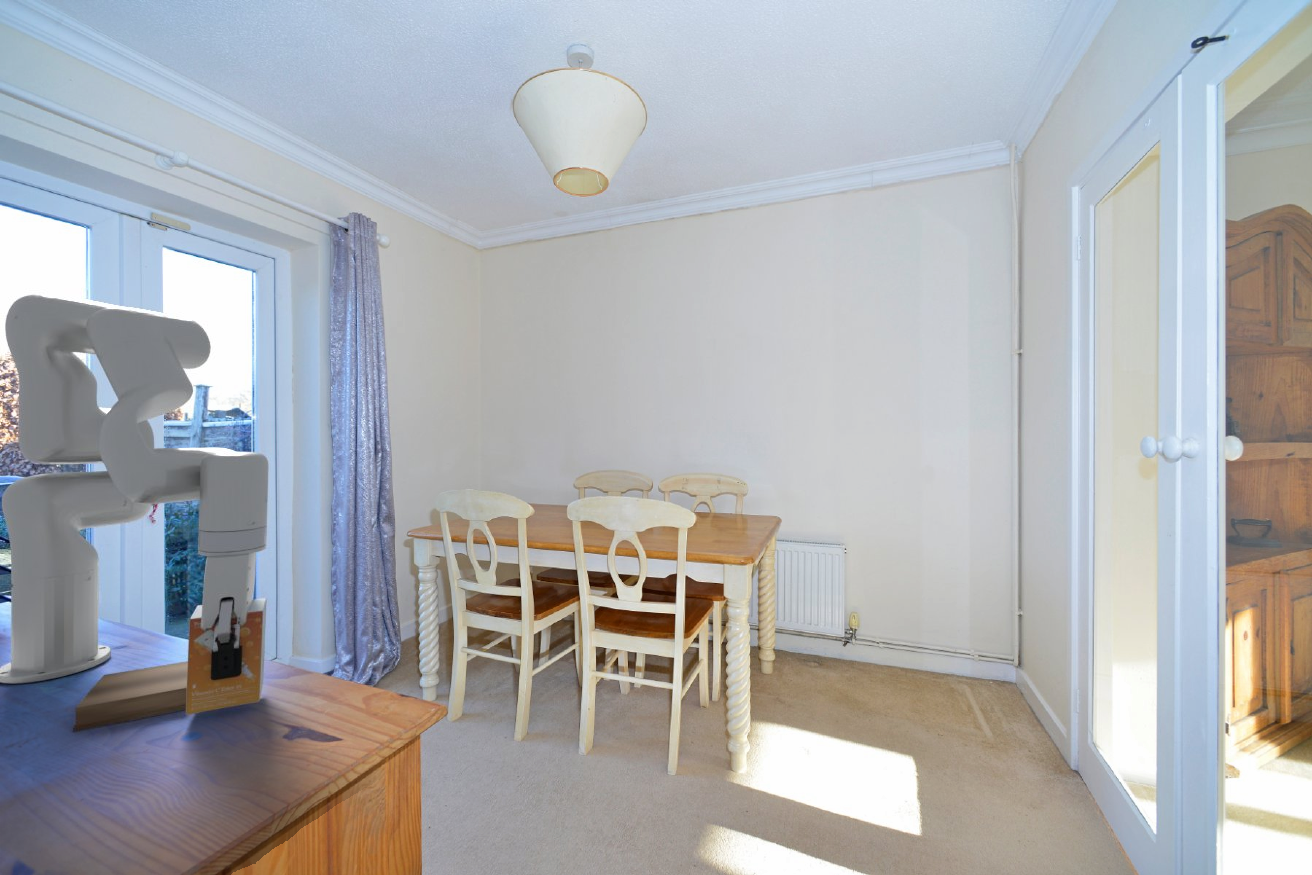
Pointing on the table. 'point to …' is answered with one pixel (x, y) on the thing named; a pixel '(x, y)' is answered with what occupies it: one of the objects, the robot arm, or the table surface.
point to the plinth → (133, 696)
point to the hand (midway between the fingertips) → (229, 665)
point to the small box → (230, 690)
